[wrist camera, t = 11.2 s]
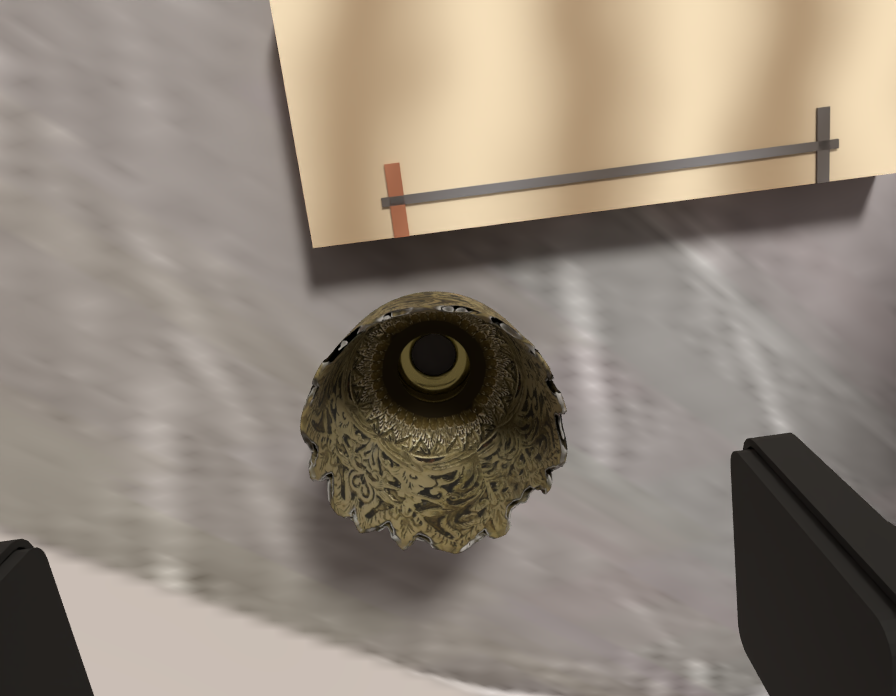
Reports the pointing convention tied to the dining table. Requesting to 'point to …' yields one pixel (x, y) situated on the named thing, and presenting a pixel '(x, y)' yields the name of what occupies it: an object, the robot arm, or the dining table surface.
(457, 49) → the maple board
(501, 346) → the cup
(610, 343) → the dining table surface
